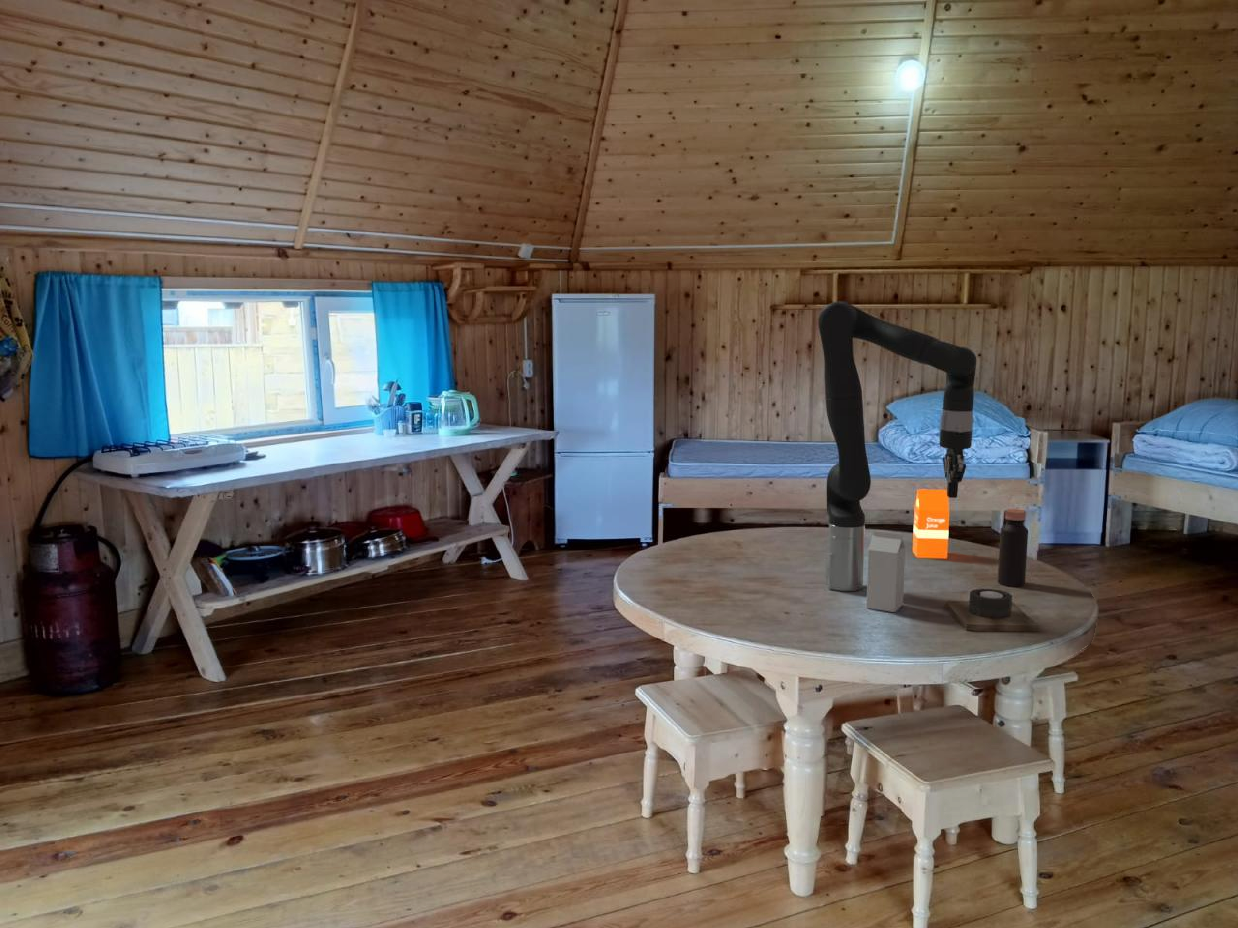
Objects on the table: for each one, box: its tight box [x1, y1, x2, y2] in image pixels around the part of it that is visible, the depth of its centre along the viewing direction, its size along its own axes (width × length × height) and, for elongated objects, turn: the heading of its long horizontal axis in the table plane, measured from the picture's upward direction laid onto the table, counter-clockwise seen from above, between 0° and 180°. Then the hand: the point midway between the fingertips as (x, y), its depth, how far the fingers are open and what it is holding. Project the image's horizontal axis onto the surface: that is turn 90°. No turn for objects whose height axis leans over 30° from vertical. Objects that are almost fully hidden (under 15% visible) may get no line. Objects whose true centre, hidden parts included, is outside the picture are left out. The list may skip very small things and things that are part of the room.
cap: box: [980, 591, 1003, 598], centre depth 224 cm, size 5×5×4 cm
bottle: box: [997, 508, 1029, 588], centre depth 252 cm, size 7×7×20 cm
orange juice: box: [912, 488, 950, 559], centre depth 282 cm, size 8×9×20 cm
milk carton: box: [866, 530, 906, 613], centre depth 233 cm, size 7×7×19 cm
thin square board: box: [944, 588, 1039, 633], centre depth 225 cm, size 16×18×6 cm
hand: (951, 497), depth 236 cm, fingers closed
